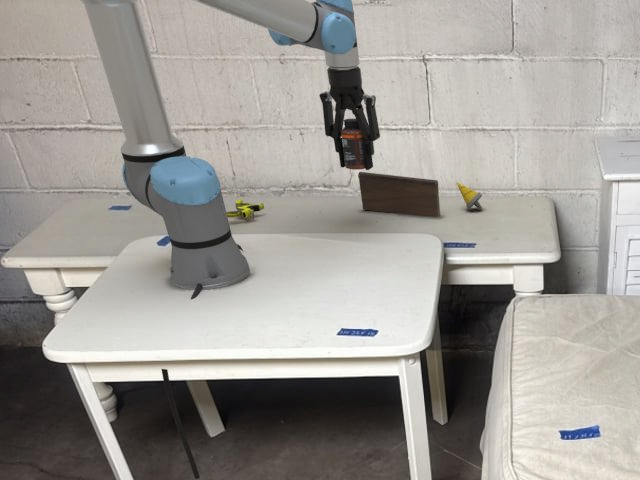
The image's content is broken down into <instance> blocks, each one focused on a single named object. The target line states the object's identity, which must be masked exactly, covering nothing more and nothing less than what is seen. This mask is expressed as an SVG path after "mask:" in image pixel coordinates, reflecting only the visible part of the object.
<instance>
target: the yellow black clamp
mask: <svg viewBox="0 0 640 480" xmlns="http://www.w3.org/2000/svg"><path fill="white" fill-rule="evenodd" d="M264 209H265V205H264V202H261V203H258V204H256V203H255V204H253V203H249V202H244V200H243V199H242V198H239V199H237V200H236V201H235V210H230V211H226V213H227V217H228V218H237V217H238V218H239V217H243V218H244V219H247V218H249V217H250V216H252V218H253V220H255V217H254V215H255V212H260V211H263V210H264Z"/></svg>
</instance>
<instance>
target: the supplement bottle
mask: <svg viewBox="0 0 640 480" xmlns="http://www.w3.org/2000/svg"><path fill="white" fill-rule="evenodd" d="M341 134H342V137H341V138H342V144H343V153H344V162H345V167H344V168H345V169H347V170H353V171H355V170H357V171H358V170H365V162H364V154H363V146H362V143H363V142H364V141H365V140H364V138H363V135H362V133H361V130H360V128H359V125H358V123H357V120H356V118H344V122H343V129H342V132H341Z"/></svg>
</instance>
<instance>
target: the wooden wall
mask: <svg viewBox="0 0 640 480" xmlns="http://www.w3.org/2000/svg"><path fill="white" fill-rule="evenodd" d="M357 177H358V181H359V182H358V183H359V189H360V190H359V191H360V197H361V204H362V205H361V206H362V210H363V211H364V210H366V211H371V212H372V211H374V212H381V213H382V212H383V213H390V214H397V215H408V216H418V217H432V218H439V217H440V216H441V209H440V208H441V206H440V194H439V181H438V180H437V179H429V178H419V177H411V176H404V175H403V176H402V175H392V174H384V173H376V172H366V171H359V172H358V174H357Z"/></svg>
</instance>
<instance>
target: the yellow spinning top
mask: <svg viewBox="0 0 640 480" xmlns="http://www.w3.org/2000/svg"><path fill="white" fill-rule="evenodd" d="M456 185H457V187H458V190H459V191H460V194H461V196H462V198H463V200H464V203H465V207H466V209H468V210H470V209H471V208H472V207H473V206H475V207H476V208H477V209H480V210H483V206H482V205H481V203H480V201H479V200H481V198H482V196H483V194H482V193H481V192H480V191H479V192H477V191H475V190H473V189H472V188H469V187H467V186H466V185H464V184H462V183H459V182H456Z"/></svg>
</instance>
